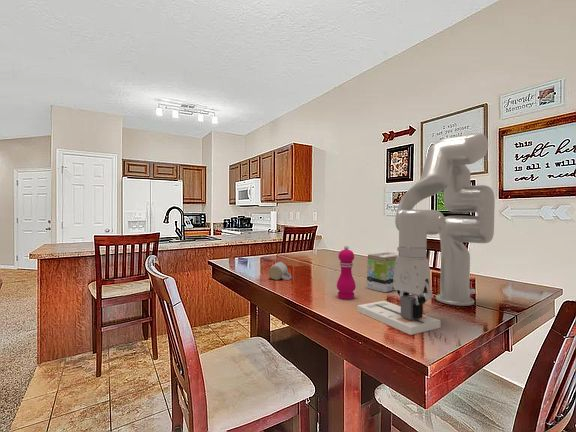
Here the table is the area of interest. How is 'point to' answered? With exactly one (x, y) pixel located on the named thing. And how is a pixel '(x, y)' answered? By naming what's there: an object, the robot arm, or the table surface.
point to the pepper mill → (346, 275)
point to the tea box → (381, 271)
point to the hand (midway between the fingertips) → (411, 314)
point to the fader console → (397, 317)
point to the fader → (407, 306)
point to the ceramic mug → (279, 271)
